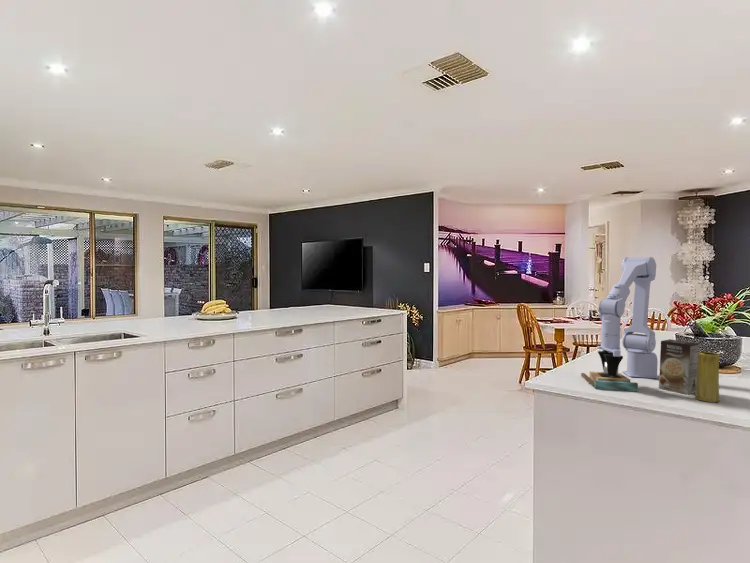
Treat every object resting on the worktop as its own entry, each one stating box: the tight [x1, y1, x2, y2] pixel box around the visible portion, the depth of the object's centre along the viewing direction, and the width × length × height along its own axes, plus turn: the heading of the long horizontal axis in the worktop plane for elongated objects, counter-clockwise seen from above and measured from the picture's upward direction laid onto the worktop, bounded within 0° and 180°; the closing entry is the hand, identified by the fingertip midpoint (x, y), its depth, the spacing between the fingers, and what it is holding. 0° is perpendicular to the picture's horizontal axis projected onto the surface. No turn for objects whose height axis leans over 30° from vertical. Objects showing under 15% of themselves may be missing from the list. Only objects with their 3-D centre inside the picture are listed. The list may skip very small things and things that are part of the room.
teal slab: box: [580, 372, 639, 392], centre depth 159 cm, size 13×18×2 cm
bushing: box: [603, 361, 620, 378], centre depth 157 cm, size 4×4×6 cm
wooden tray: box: [588, 371, 631, 382], centre depth 157 cm, size 10×10×3 cm
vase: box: [694, 351, 720, 403], centre depth 140 cm, size 6×6×14 cm
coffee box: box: [658, 338, 700, 395], centre depth 151 cm, size 9×6×16 cm
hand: (609, 373), depth 157 cm, fingers closed on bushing, 4 cm apart
